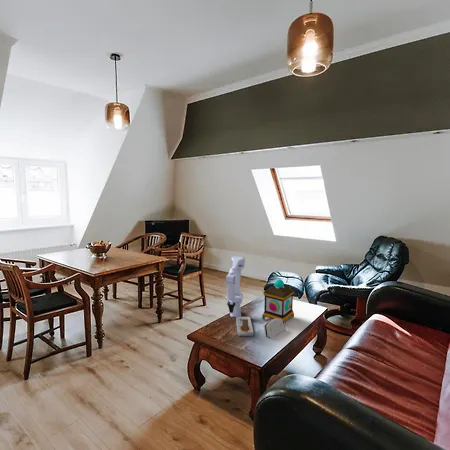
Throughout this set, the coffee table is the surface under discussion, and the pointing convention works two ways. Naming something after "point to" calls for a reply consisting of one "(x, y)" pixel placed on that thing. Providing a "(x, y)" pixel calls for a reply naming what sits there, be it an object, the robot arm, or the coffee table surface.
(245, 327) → the walnut peg
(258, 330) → the coffee table surface
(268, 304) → the decorative lantern
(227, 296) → the robot arm
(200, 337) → the coffee table surface
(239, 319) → the peg-in-hole board
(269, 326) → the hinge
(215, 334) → the coffee table surface
